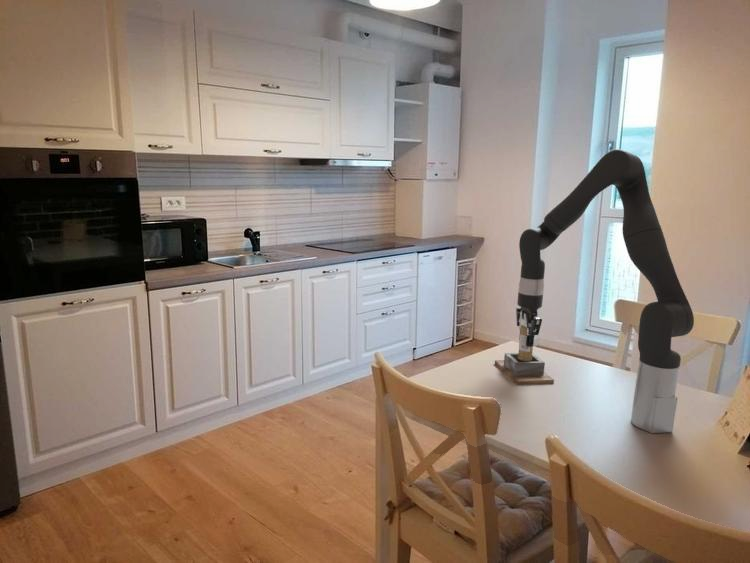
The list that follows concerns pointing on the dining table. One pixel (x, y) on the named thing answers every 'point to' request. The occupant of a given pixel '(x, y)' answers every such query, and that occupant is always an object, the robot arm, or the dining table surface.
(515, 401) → the dining table surface
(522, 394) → the dining table surface
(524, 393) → the dining table surface
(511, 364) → the socket holder
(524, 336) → the sprinkles bottle
